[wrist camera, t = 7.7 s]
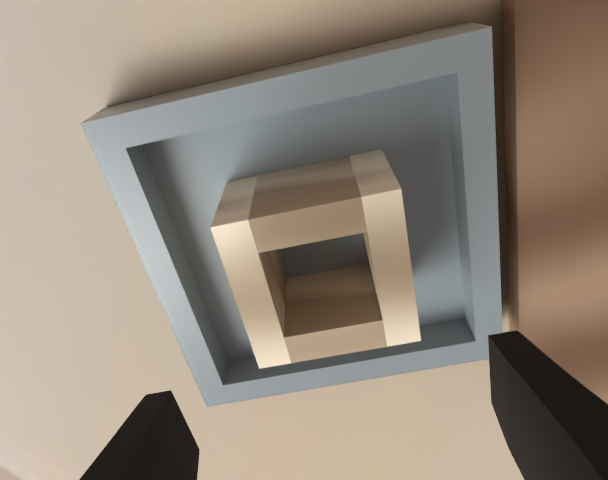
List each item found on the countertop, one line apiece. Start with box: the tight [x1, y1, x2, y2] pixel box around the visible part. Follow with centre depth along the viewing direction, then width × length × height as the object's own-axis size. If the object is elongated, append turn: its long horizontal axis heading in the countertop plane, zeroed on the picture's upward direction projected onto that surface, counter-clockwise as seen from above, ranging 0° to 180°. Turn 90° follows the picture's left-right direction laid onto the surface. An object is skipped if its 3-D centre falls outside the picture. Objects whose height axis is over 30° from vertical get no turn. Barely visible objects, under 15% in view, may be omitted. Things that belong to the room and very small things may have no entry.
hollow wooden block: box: [210, 149, 421, 369], centre depth 16 cm, size 5×5×4 cm
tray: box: [81, 21, 502, 407], centre depth 17 cm, size 12×12×2 cm
